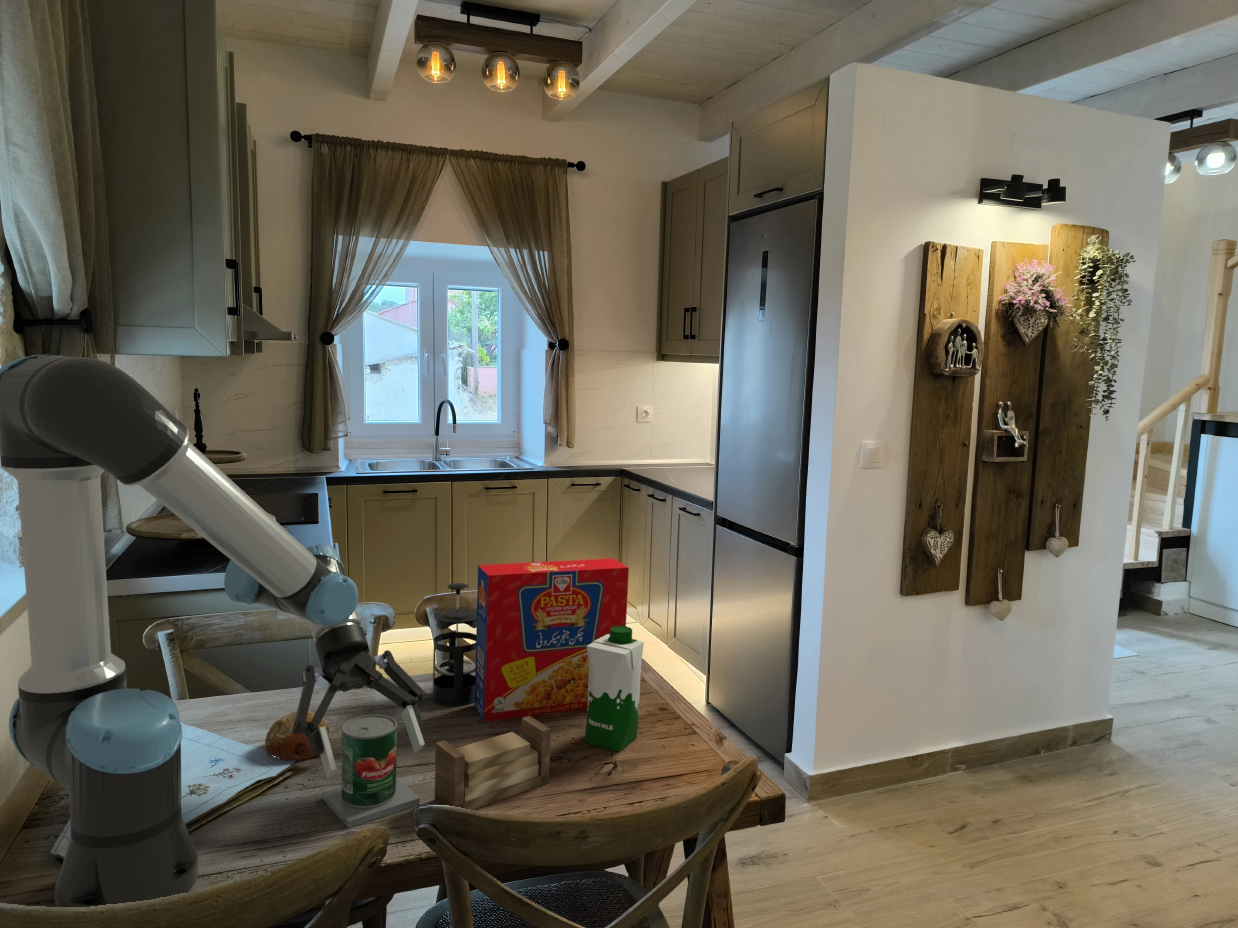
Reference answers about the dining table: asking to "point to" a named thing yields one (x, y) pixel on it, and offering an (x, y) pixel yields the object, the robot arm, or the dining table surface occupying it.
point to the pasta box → (542, 633)
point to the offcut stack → (497, 764)
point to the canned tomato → (369, 761)
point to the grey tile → (358, 815)
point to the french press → (454, 656)
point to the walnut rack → (452, 791)
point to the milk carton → (613, 689)
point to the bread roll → (290, 739)
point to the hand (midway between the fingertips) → (377, 760)
